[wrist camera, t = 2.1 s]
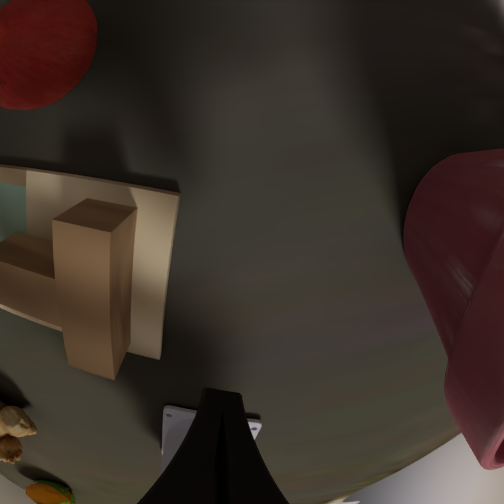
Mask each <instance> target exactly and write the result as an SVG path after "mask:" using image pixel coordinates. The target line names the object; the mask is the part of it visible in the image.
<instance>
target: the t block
mask: <svg viewBox="0 0 504 504" xmlns="http://www.w3.org/2000/svg"><path fill="white" fill-rule="evenodd" d="M137 211H138V208H136V207H131V206H126V205H121V204H116V203H110V202H105V201H100V200H95V199H89V198H86V199H85V200H83V201H81V202H80V203H78V204H76V205H75V206H73V207H71V208H70V209H68V210H66V211H65V212H63V213H62V214H60V215H59V216H57V217H55V218H54V219H52V235H53V241H51V240H47V239H43V238H39V237H35V236H31V235H28V234H24V233H20V232H15V233H13V234H12V235H10V236H9V237H7V238H6V239H4V240H3V241H1V242H0V304H2V305H4V306H6V307H9V308H11V309H14V310H16V311H19V312H21V313H24V314H26V315H29V316H31V317H34V318H37V319H39V320H42V321H45V322H47V323H50V324H53V325H56V326H59V327H62V333H63V339H64V344H65V349H66V354H67V359H68V363H69V366H71V367H74V368H77V369H80V370H83V371H86V372H89V373H92V374H95V375H98V376H102V377H105V378H108V379H111V380H115V378H116V376H117V373H118V371H119V368H120V366H121V364H122V361H123V359H124V357H125V354H126V352H127V350H128V347H129V345H130V343H131V291H132V270H133V254H134V241H135V230H136V220H137Z"/></svg>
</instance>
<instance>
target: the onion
mask: <svg viewBox="0 0 504 504" xmlns="http://www.w3.org/2000/svg"><path fill="white" fill-rule="evenodd" d="M97 28H98V23H97V20H96V18H95V15H94V13H93V10H92V8H91V7H90V5H89V4H88V2H87V1H86V0H11V1H9V2H8V3H7V4H5V5H4V6H2V7H1V8H0V107H3V108H6V109H18V110H34V109H38V108H41V107H44V106H46V105H49V104H51V103H54V102H57V101H59V100H60V99H61V98H62V97H64V96H65V95H66V94H67V93H68V92H69V91H71V90H72V89H73V88H74V87H75V86H76V85H77V84H79V82H80V81H81V79H82V78H83V76H84V75H85V74H86V72H87V71H88V69H89V68H90V66H91V63H92V60H93V57H94V54H95V51H96V45H97Z"/></svg>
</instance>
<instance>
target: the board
mask: <svg viewBox="0 0 504 504" xmlns="http://www.w3.org/2000/svg"><path fill="white" fill-rule="evenodd" d="M180 196H181V193H177V192H172V191H167V190H162V189H156V188H151V187H146V186H140V185H135V184H129V183H124V182H118V181H112V180H106V179H100V178H94V177H88V176H82V175H75V174H69V173H62V172H55V171H48V170H41V169H34V168H27V167H19V166H11V165H3V164H0V242H1V241H3V240H4V239H6V238H7V237H9V236H10V235H12V234H13V233H15V232H20V233H24V234H28V235H31V236H35V237H39V238H43V239H47V240H51V241H53V235H52V219H54V218H55V217H57V216H59V215H60V214H62V213H63V212H65V211H66V210H68V209H70V208H71V207H73V206H75V205H76V204H78V203H80V202H81V201H83V200H85V199H86V198H89V199H95V200H100V201H105V202H110V203H116V204H121V205H126V206H131V207H136V208H138V211H137V220H136V230H135V241H134V254H133V270H132V291H131V343H130V345H129V347H128V350H127V352H130V353H134V354H138V355H142V356H146V357H150V358H154V359H158V360H160V356H161V350H162V337H163V326H164V315H165V305H166V296H167V287H168V278H169V270H170V262H171V255H172V247H173V240H174V233H175V227H176V220H177V214H178V208H179V202H180ZM0 308H2V309H4V310H7V311H9V312H11V313H14V314H16V315H19V316H21V317H24V318H26V319H29V320H31V321H34V322H36V323H39V324H42V325H44V326H47V327H50V328H53V329H55V330H58V331H61V332H62V327H59V326H56V325H53V324H50V323H47V322H45V321H42V320H39V319H37V318H34V317H31V316H29V315H26V314H24V313H21V312H19V311H16V310H14V309H11V308H9V307H6V306H4V305H2V304H0Z"/></svg>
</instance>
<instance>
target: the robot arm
mask: <svg viewBox="0 0 504 504" xmlns="http://www.w3.org/2000/svg"><path fill="white" fill-rule="evenodd" d="M261 426H262V422H261V421H260V420H258V419H250V418H247V417H246V413H245V410H244V405H243V401H242V395H241V394H240V393H236V392H229V391H223V390H217V389H211V388H204V389H203V391H202V396H201V400H200V404H199V407H198V410H197V411H196V410H190V409H185V408H180V407H175V406H171V405H167V406H165V407H164V410H163V428H162V460H161V466H160V472H159V477H158V480H157V481H156V482H155V483H154V485H153V486H152V487H151V488H150V490H149V491H148V492H147V493H146V494H145V495H144V497H143V498H142V499H141V500H140V501H139V502H138V503H137V504H289V503H288V501H287V500H286V499H285V497H284V496H283V494H282V493H281V491H280V490H279V488H278V486H277V485H276V483H275V481H274V480H273V478H272V476H271V475H270V473H269V471H268V469H267V467H266V465H265V463H264V461H263V459H262V457H261V455H260V452H259V450H258V448H257V445H256V443H255V438H256V436H257V434H258V432H259V430H260V428H261Z"/></svg>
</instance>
